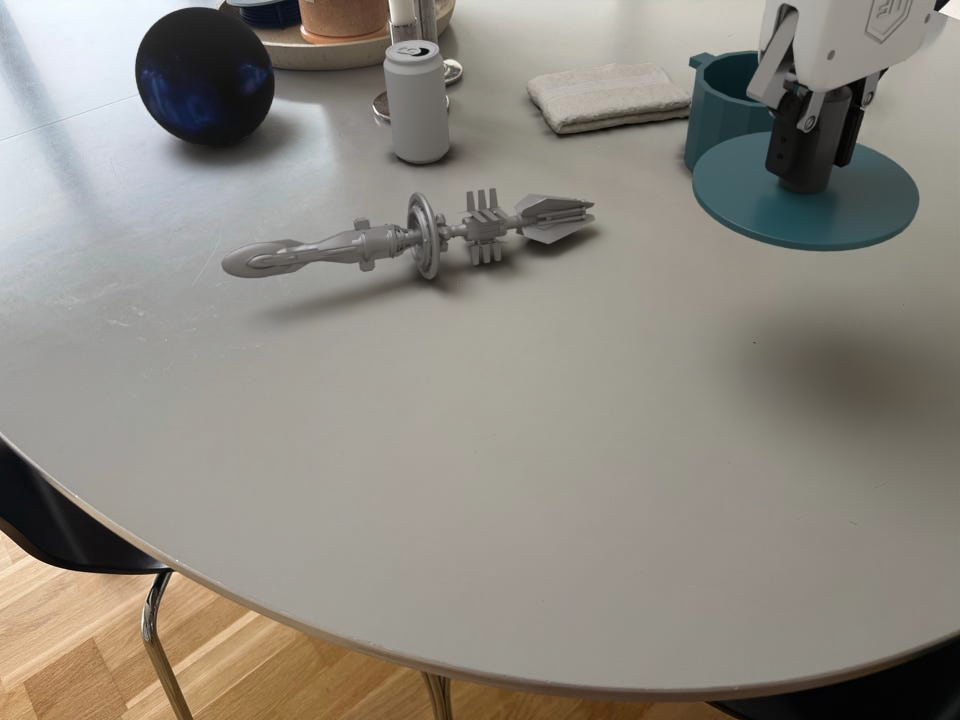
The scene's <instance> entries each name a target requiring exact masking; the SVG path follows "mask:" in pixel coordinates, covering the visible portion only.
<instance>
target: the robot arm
mask: <svg viewBox="0 0 960 720" xmlns="http://www.w3.org/2000/svg"><path fill="white" fill-rule="evenodd" d="M936 3H937V0H765V6H764V12H763V16H762V20H761V26H760V32H759V40H758V47H757V51H758V62H759V66H758V68H757V70H756V72H755V74H754V76H753V78H752V80H751V82H750V84H749V86H748V88H747V90H746V95H747V97H749V98H751V99H753V100H755V101H757V102H760V103H762V104H764V105H766V106H767V108H768V109H769V115H770V116H771V117H773V118H775V119H774V123H773V128H772V133H771V138H770V143H769V147H768V152H767V157H766V162H765V168H766V170H767V171H769V172H771V173H772V174H774V175H776V176H778V177H780V178H782V179H784V180H786V181H787V182H789V183H791V184H793V185H795V186H797V187H801V186H803V185H805V184H807V183H808V180H809V176H810V173H811V169H812V165H813V161H814V157H815V153H816V149H817V145H818V141H819V137H820V132H821V129H819V128H816V127H814V126H815V124H816V122H817V119H818V116H819V113H820V110H821V106H822V103H823V100H824V97H825V94H826V92H827V91H830V90H833V89H836V88H838V87H841V86H844V85H846V86H847V87H849V88H850V89H851V91H852V98H851V102H850V106H849V109H848V113H847V117H846V120H845V124H844V128H843V131H842V135H841V139H840V142H839V146H838V150H837V153H836V157H835V161H834V165H836V166H838V167H840V168H842V167H844V166H846V165H849V164H850V162H851V158H852V155H853V151H854V148H855V144H856V143H857V140H858V137H859V133H860V130H861V126H862V123H863V120H864V116H865V113H866V111H865V110H864V109H867V108H868V107H870V106H871V104H872V103H873V101H874V100H875V98H876V93H877V89H878V83H879V81H880V80H881V79H882V78H883V76H884V75H885V74H886V72H888V70H889V69H890V67H892V66H895V65H897V64H900V63H902V62H904V61H906V60H907V59H909V58H911V57H913V56H914V55H915V54H916V53H917V52H918V51H919V50H920V49H921V47H922V46H923V44H924V42H925V39H926V35H927V33H928V30H929V26H930V24H931V20H932V17H933V13H934V10H935V7H936ZM796 85H798V86H801V87H803V88H805V89H808V90H807V92H806V95H805V98H804V101H803V102H802V101H801V99H800V98H799V97H798V95H797V94H795V93H794V89H795V86H796Z"/></svg>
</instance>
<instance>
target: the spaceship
mask: <svg viewBox="0 0 960 720" xmlns="http://www.w3.org/2000/svg"><path fill="white" fill-rule="evenodd" d="M477 204H478V206H477V207H478V208H477V209H476V204H475V198H474V191H472V190H470V191H469V190H468V191H466V210H465V211H464V213H469V214H470V216H466V217H463V218H462V220H461V224H457V225H454V224H452V225H450V226H449V225H448V224H446V223H447V220H446V217H445V215H444V213H436V214H435V213H434V210H433V208H432V206H431V204H430V203H429V201H428V199H427V198H426V196H425V195H424V194H423V193H421V192H420V191H415V192H413V193H412V194H411V196H410V198H409V200H408V205H407V206H408V207H407V216H406V228H405V227H401V226H400V225H398V224H394V223H390V224H388V223H384V225H378V226H377V225H376V226H371V224H370V223H371V222H370V219H368V218H367V217H357V218H355V219H354V220H353V228H354V229H351V230H343V231H341V232H339V233H336V234H334V235H332V236H328V237H327V238H325V239H324V238H323V239H322V240H319V241H316V242H309V243H306V242H303V241H298V240H296V239H295V240H294V239H291V238H285V239H278V240H273V241H272V240H271V241H263V242H255V243H250V244H247V245H244V246H241V247H239V248H237V249H234V250H232V251H230V252H229V253H228V254H227V255H225V256H224V258H223V259H222V261H221V263H220V264H221V268H222V271H223V272H225V273H226V274H227V275H230V276H233V277H236V278H241V279H262V278H264V279H265V278H268V277H273V276H279V275H287V274H293V273H296V272H298V271H299V270H300V269H302V268H304V267H305V266H307V265H309V264H312V263H317V262H326V263H335V264H348V265H350V264H351V265H352V264H358V266H359V270H360V272H363V273H365V272H366V273H368V272H373V271H374V269H375V268H376V262H375V261H377V260H384V259H390V258H391V260H392V259H395V258H399V257H400V256H402V255H404V252H406V250H409V249H410V253H411V255H412V258H413V260H414V262H415V264H416V266H417V268H418V270H419V272H420V275H421V276H422V277H423V278H424V279H427V280H432V279H434V278H435V277H436V276H437V273H438V270H439V264H440V260H441V253H446V252H447V251H448V249H449V242H448V241H450V240H451V239H455V238H456V237H457V238H458V237H460V238H461V239H462V240H463V241H464V242H465V243H466V244H467V245H468V248H469V250H470V255H471V260H472V261H471V262H472V265H473V266H478V265H479V264H480V253H479V251H480V250H479V247H481V251H482V258H483V263H484V264H487V263H488V264H489V263H490V262H491V246H492V250H493V257H494V262H500V261H502V244H506V243H507V244H508V243H509V241H504V240H499V239H498V238H501V237H505V236H506V235H508V231H509V230H513V229H516V230H515V234H517V235H520V236H524V237H525V238H527V239H531V240H533V241H537V242H540V243H543V244H546V245H550V244H553V243H554V242H556V241H559V240H561V239H563V238H564V237H567V236H568V235H571V234H573V233H575V232H578V231H579V230H581V229H583V228H584V226H586V225H588V224H590V223H592V222H593V221H595V220H596V217H595V216H594V214H591V213H587V210H588V209H591V208H593V207H594V205H595V202H590V201H588V200H586V199H585V198H583V199H577V198H571V197H566V196H565V197H564V196H554V195H546V194H537V193H527V194H526V195H525V196H524V197H523V198H522V199H521V200H519V201H518V202H517V203H516V204H515V205H514V206H513V209H514V212H515V214H516V215H511V216H510V215H509V214H507V213H506V212H505V211H504V210H503V209H501V207H500V206H499V202H498V195H497V188H495V187H491V188H489V207H487V199H486V192H485V189H478V190H477ZM460 213H461V214H462V211H460V212H459V211H458V214H460Z"/></svg>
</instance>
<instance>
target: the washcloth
mask: <svg viewBox="0 0 960 720" xmlns="http://www.w3.org/2000/svg"><path fill="white" fill-rule="evenodd" d="M525 90H526V92H527V94H528V96H529V97H530V99H531V101H532V102H534V105H536V106H537V107H539V109H540V111H541V112H542V116H543V118H544V119H545V121H546V123H547V124H548V125H549V126H550V127H551V129H552V130H553V131H554V132H555V133H557V134H560V135H561V134H577V133H581V132H587V131H595V130H600V129H605V128H609V127H615V126H621V125H625V124H637V123H639V124H642V123H643V124H644V123H648V122H651V121H652V122H658V121H665V120H669V119H670V120H671V119H672V118H681V119H683V118H684V117H690V110H691V103H692V96H693V93H691V94H690V93H688V92H687V91H686V90H684V89H683V87H682V85H680V84H679V83H678V82H677V81H676V80H675V79H674V78H673V76H672V74H670V72H668V71H667V70H666V69H665V68H664V67H663V66H659V65H658V64H656V63H655V62H651V61H648V62H645V63H638V64H621V63H618V62H617V61H615V62H610V63H608V64H604V65H600V66H595V67H585V68H576V69H569V70H566V71H565V70H564V71H560V72H554V73H547V74H545V73H544V74H540V75H538V76H535V77H533V78H532V79H529V80H528V81H527V83H526V85H525Z"/></svg>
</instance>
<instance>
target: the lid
mask: <svg viewBox="0 0 960 720" xmlns="http://www.w3.org/2000/svg"><path fill="white" fill-rule="evenodd" d="M807 90H808V89H805V88H803V87H801V86H800V87H799V89H798V93H797V95H798V97H799V98H800V99H801V101H802V102H803V101H804V98H805V95H806V92H807ZM851 98H852V91H851V89H850V88H849V87H847V86H846V85H844V86H841V87H838V88H836V89H833V90H830V91H827V92H826V94H825V97H824V100H823V103H822V106H821V110H820V113H819V116H818V119H817V122H816V124H815V126H814V127H816V128H819V129H821V132H820V137H819V141H818V145H817V149H816V153H815V157H814V161H813V165H812V169H811V173H810V176H809V180H808V183H807V184H805V185H803V186H801V187H797V186H795V185H793V184H791V183H789V182H787V181H786V180H784V179H782V178H780V177H778V176H776V175H774V174H772V173H771V172H769V171H767V170H766V168H765V162H766V157H767V152H768V147H769V143H770V138H771V133H772V132H761V133H754V134H748V135H743V136H739V137H736V138H733V139H730V140H727V141H724V142H722V143H720V144H718V145H716V146H714V147H713V148H711V149H710V150H708V151H707V152H706V153H705V154H703V155H702V156H701V158H700V159H699V160H698V162H697V163H696V165H695V168H694V171H693V173H692V175H691V176H692V177H691V189H692V193H693V195H694V198H695V200H696V202H697V204H698V205H699V206H700V207H701V208H702V209H703V211H704V212H705V213H706V214H707V215H708V216H709V217H710V218H712V219H713V220H714V221H716V222H717V223H719V224H720V225H722V226H723V227H725V228H727V229H729V230H730V231H732V232H734V233H736V234H739V235H741V236H743V237H746V238H749V239H751V240H754V241H757V242H760V243H762V244H767V245H771V246H775V247H778V248H779V247H780V248H784V249H789V250H790V249H791V250H796V251H797V250H798V251H804V252H806V251H807V252H823V253H824V252H825V253H826V252H827V253H828V252H847V251H855V250H860V249H866V248H869V247H873V246H877V245H880V244H882V243H884V242H887V241H889V240H892V239H894V238H896V237H897V236H898V235H900V234H901V233H903V232H904V231H905V230H906V229H907V228H908V227H909V226H910V225H912V222H913V221H914V219H915V217H916V215H917V212H918V210H919V207H920V199H921V197H920V191H919V188H918V185H917V183H916V182H915V180H914V179H913V178H912V176H911V174H910V173H909V172H908V171H907V170H906V169H905V168H904V167H902V166H901V165H900V164H898V162H896V161H895V160H893V159H891V158H890V157H889V156H887V155H885V154H883V153H881V152H880V151H877V150H875V149H874V148H871V147H868V146H866V145H864V144H861V143H858V142H856V144H855V148H854V151H853V155H852V158H851V162H850V164H849V165H846V166H844V167H842V168H840V167H838V166H836V165H834V161H835V157H836V153H837V150H838V146H839V142H840V139H841V135H842V131H843V128H844V124H845V120H846V117H847V113H848V109H849V106H850V102H851Z"/></svg>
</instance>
